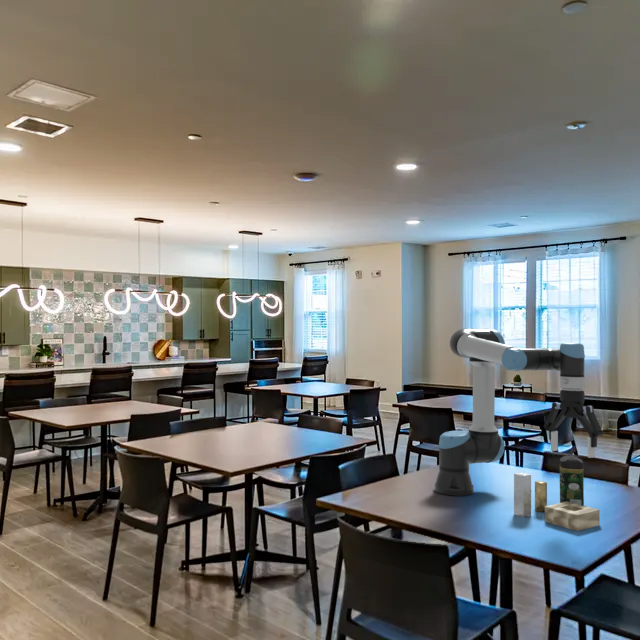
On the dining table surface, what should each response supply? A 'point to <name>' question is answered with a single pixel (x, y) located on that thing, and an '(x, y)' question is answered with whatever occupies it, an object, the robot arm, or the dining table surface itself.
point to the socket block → (572, 516)
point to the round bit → (540, 496)
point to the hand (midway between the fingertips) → (572, 453)
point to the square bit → (522, 494)
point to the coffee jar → (571, 480)
